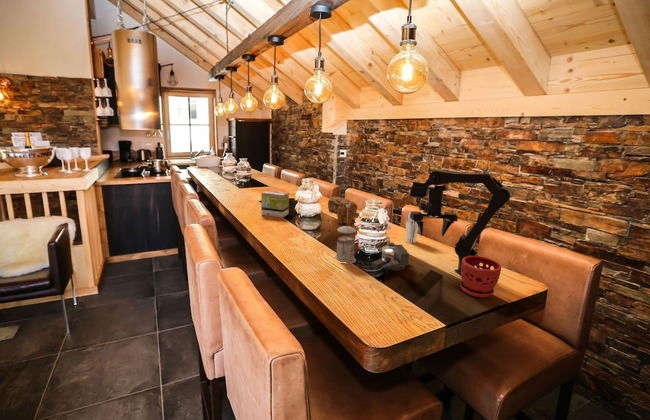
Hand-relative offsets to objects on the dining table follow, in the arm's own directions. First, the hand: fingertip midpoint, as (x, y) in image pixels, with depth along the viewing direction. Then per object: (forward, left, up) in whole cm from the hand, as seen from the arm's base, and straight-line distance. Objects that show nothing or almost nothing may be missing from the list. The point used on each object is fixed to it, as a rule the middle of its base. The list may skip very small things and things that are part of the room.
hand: (431, 235), depth 152 cm
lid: (-3, +17, -7) cm, 19 cm away
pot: (-1, +19, -13) cm, 23 cm away
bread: (+94, +13, -14) cm, 96 cm away
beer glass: (+31, -7, -13) cm, 34 cm away
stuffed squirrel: (+68, +17, -14) cm, 71 cm away
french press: (+10, +35, -13) cm, 39 cm away
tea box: (+92, +58, -14) cm, 110 cm away
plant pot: (-27, -5, -13) cm, 31 cm away
